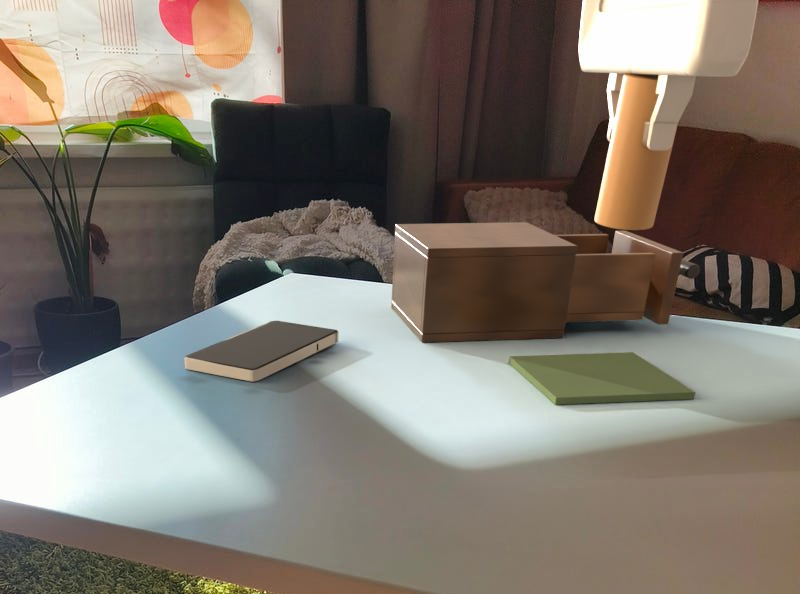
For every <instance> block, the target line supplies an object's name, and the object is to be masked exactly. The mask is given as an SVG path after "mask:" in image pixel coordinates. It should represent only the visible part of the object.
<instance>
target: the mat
mask: <svg viewBox="0 0 800 594" xmlns="http://www.w3.org/2000/svg"><path fill="white" fill-rule="evenodd" d="M508 364H509V365H510V366H512V368H514V369H515V370H516V371H517V372H518V373H519V374H520V375H521V376H522V377H524V379H526V380H527V381H528V382H529V383H531V384H532V386H533V387H535V388H536V389H537V390H538V391H539V392H541V394H543V396H545V397H546V398H547V399H548V400H549V401H550V402H551V403H552V404H554V405H555V406H556V405H559V406H560V405H580V404H581V405H582V404H583V405H584V404H604V403H605V404H607V403H609V404H610V403H629V402H630V403H631V402H633V403H634V402H653V401H654V402H656V401H657V402H658V401H679V400H680V401H682V400H694V399H695V397H696V391H694V390H693V389H691V388H690V387H688V386H687V385H685V384H684V383H682V382H680V381H679V380H678V379H676V378H674V377H673V376H671V375H669V374H668V373H666V372H665V371H663V370H661V369H660V368H658V367H657V366H655V365H654V364H652V363H651V362H649V361H648V360H646V359H644V358H643V357H641V356H640V355H638V354H637V353H635V352H633V351H628V352H627V351H624V352H597V353H596V352H595V353H594V352H593V353H569V354H567V353H565V354H539V355H537V354H536V355H510V356H509V357H508Z"/></svg>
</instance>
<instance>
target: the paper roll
mask: <svg viewBox="0 0 800 594" xmlns="http://www.w3.org/2000/svg"><path fill="white" fill-rule="evenodd" d="M658 76H659V75H650V74H624V75H623V80H622V85H621V90H620V95H619V100H618V105H617V110H616V115H615V120H614V125H613V130H612V135H611V140H610V142H609V145H608V150H607V153H606V159H605V164H604V170H603V174H602V180H601V184H600V189H599V195H598V200H597V203H596V204H597V205H596V210H595V214H594V222H595V223H596V224H597V225H600V226H602V227H606V228H610V229H616V230H622V231H643V230H649V229H651V228H653V227H654V224H655V221H656V215H657V212H658V208H659V204H660V199H661V194H662V190H663V187H664V183H665V178H666V174H667V172H668V171H667V170H668V166H669V162H670V159H671V158H670V157H671V154H672V150H673V146H674V144H673V145H672V147H671V148H670V149H669V150H666V151H653V150H648V149H644V148H643V147H642V144H641V141H642V137H643V130H644V124H645V121H650V119H651V116H652V114H653V111H654V108H655V105H656V102H657V99H658V96H659V94H656V87H657V82H658ZM678 124H679V121H678V122H677V126H676V131H675V134H676V133H677V128H678ZM675 136H676V135H675ZM675 136H674V138H675ZM674 141H675V140H674ZM674 141H673V143H674Z"/></svg>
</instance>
